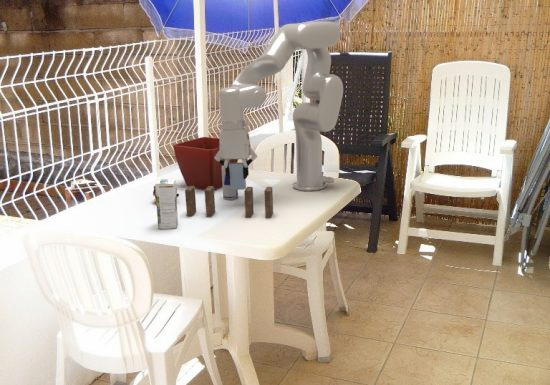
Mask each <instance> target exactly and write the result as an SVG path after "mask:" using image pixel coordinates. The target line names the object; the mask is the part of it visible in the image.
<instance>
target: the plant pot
mask: <svg viewBox="0 0 550 385" xmlns="http://www.w3.org/2000/svg"><path fill="white" fill-rule="evenodd" d="M219 142H220V137H219V138H218V137H212V136H211V137H209V136H207V137H206V136H202V137H198V138H195V139H190V140H187V141H186V140H185V141H182V142H179V143H176V144H175V143H174V144H173V145H172V148H173V152H174V156H175V159H176V163H177V166H178V169H179V172H180V174H181V176H182V178H183V180H184V182H185V185H186V186H187V188H188V187H189V186H195V189H200V190H205V189H206V188H207V187H208V186H214V191H215V190H217V189H220V188H223V186H222V164H221V163H220V162H218V161H217V160H215V159H214V157H215V156H216V154H217V153H218V151H219V150H220V148H219ZM220 158H221V157H220ZM224 160H225V159H224ZM238 161H239V159H230V162H229V163H239V162H238Z"/></svg>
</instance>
